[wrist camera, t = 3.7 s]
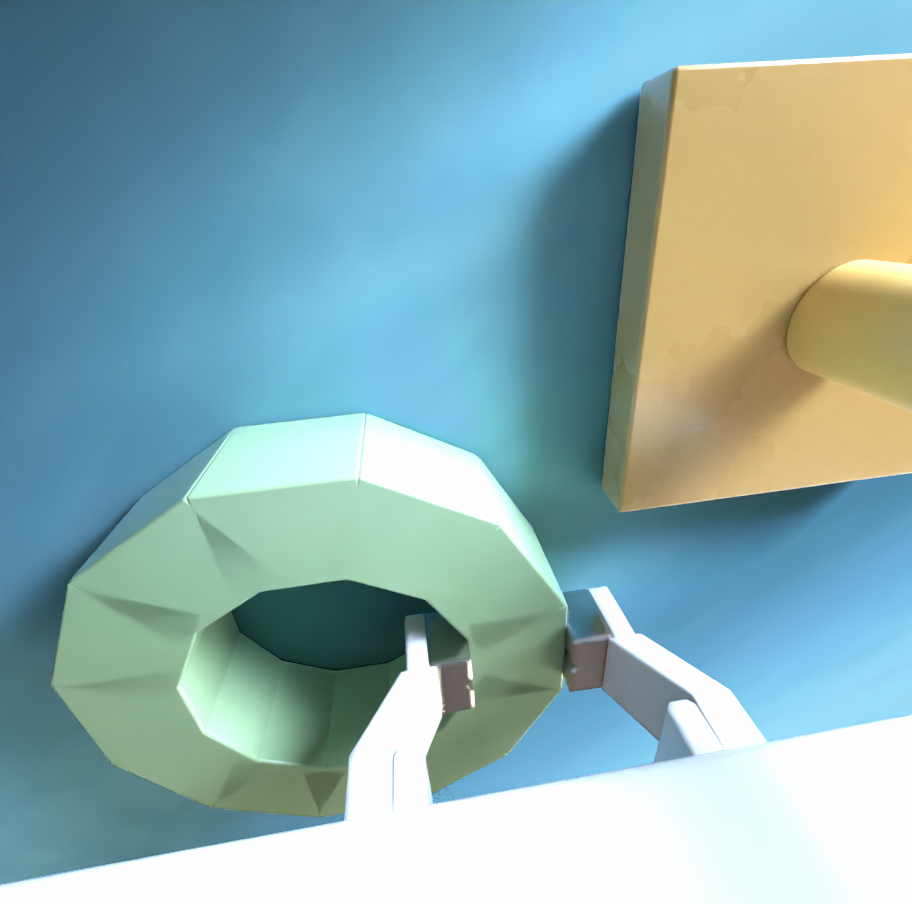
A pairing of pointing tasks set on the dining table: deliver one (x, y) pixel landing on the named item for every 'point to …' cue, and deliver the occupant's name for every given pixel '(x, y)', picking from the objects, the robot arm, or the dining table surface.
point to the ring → (292, 565)
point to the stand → (765, 282)
